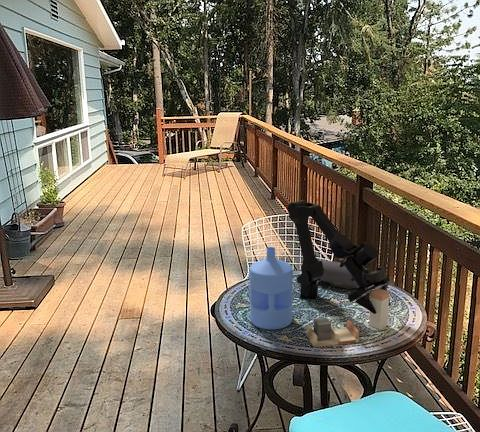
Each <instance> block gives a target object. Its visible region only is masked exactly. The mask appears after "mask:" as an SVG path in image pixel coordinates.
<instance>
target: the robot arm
mask: <svg viewBox="0 0 480 432" xmlns="http://www.w3.org/2000/svg"><path fill="white" fill-rule="evenodd" d="M286 209H287V210H286V211H287V213H288V216H289V219H290V221H292V222H293V223H294V225H295V229H296V233H297V237H298V238H297V239H298V242H299V245H300V246H299V247H300V250H301V251H300V252H301V255H302V259H303V260H302V263H301V267H300V269H301V270H300V271H301V273H300V275H298V276H297V277H296V282H297V284H299V285H300V286H299V287H300V289H299V293H300V295H299V299H303V300H305V299H306V300H314V301H315V300H316V299H317V297H318V295H319V284H318V282H319V281H321V280H320V279H321V277H322V276H323V274H324V272H323V271H324V268H323V263H322V261H319V260H320V259H318V258H317V256H316V253H315V248H314V244H313V240H312V235H311V230H310V226H309V220H310V217H311V219H312V220H313V221H314V223H315V224H316V226H317V227H318V228H319V230H320V232H322V234H323V236H324V237H326V239H327V241H328V244H329V245H328V246H329V249H330V250H331V252H332V254H333V256H334V257H335V258H337V259H341V260H340V262H339V263H340V268H341V267H344V266H345V267H346V269H347V270H348V272H349V273H350V275H351V276H352V279H351V281H352V282H353V281H355V283H356V284H357V286H358V287H359V288H355V289H354V290H352V291H351V292H349V293H348V294H347V300H348V301H349V303H354V304H357V305H359V306H361V307H363V308H364V309H366V310H368V311H369V313H370V312H372V313H373V314H376V313H377V312H376V310H375V308H374V306H373V304H372V303H371V298H370V292H371V291H374V290H376V289H378V288H380V289H383V290H386V291H388V286H389V285H390V282H391V279H390V278H389V276H388V275H387V270H386V268H385V267H384V266H378V267H376V269H375V270H374V271H372V270H371V269H370V268H367V269H365V268H366V267H365V266H367V265H369V264H370V263H371V262H373V261H375V259H377V258H378V256H379V252H378V249H377V248H376V247H374V246H373V245H371V244H369V243H368V242H367V241H364V242H362V243H361V244H360V245H357V244H354V242H352V240H350V239H349V237H347V236H345V235H343V234H342V233H341V232H339V230H338V229H337V227H336V226H335V224H333V222H332V221H331V219H330V218H329V217H328V216H327V214H326V213H325V212H324V210H323V207H322V206H321V205H320V204H315V203H313V202H308V201H306V200H304V199H301V200H295V201H293V202H290V203H289V204H288V205H287V208H286ZM370 270H371V271H370ZM390 306H391V301H390V300H389V307H390Z"/></svg>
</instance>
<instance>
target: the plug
mask: <svg viewBox="0 0 480 432" xmlns="http://www.w3.org/2000/svg"><path fill="white" fill-rule="evenodd" d="M390 293H391V292H390V291H388V290H387V291H386V290H383V289H380V288H378V289H376V290H374V289H373V290H371V291H370V301H371V303H372V304H373V306H374V308H375V310H376V312H377V313H376V314H373V313H372V312H370V311H369V323H368V325H369V326H370V327H373V328H375V329H377V330H379V331H380V330H382V329H384V328H386V327H388V320H389V307H390V306H389V301H390Z"/></svg>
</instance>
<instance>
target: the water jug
mask: <svg viewBox="0 0 480 432" xmlns="http://www.w3.org/2000/svg"><path fill="white" fill-rule="evenodd" d="M265 250H266V253H265V255H266V258H264V259H262V260H258V261H256V262H253V263H252V264H251V265H250V266H249V275H248V276H249V277H248V278H249V279H248V280H249V302H250V303H249V306H250V307H249V308H250V311H249V319H250V322H251V324H252V325H254V326H255V327H257V328H259V329H263V330H269V331H272V330H273V331H275V330H279V329H284V328H286V327H288V326H289V325H290V324H291V323H292V321H293V320H294V319H293V317H294V314H293V299H294V298H293V297H294V294H293V279H294V272H293V266H292V265H291V264H290V263H289V262H287V261H284V260H280V259H278V258H276V248H275V247H273V246H268V247H266V249H265Z"/></svg>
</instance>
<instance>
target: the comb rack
mask: <svg viewBox="0 0 480 432" xmlns="http://www.w3.org/2000/svg"><path fill="white" fill-rule="evenodd" d="M306 337H307V338H308V341H310V343H311V344H312V346H313V348H320V347H326V346H327V347H328V346H335V345H338V346H340V345H341V346H342V345H346V344H355V343H359V341H360V330H359V329H358V328H357V327H356V326H355V324H354V323H353V322H352V321H351V320H350V319H347V320H346V327H343V328H342V327H341V328H335V327H334V325H332V322H331V321H330V320H329V318H328V317H327V316H325V317H319V318H318V317H317V318H316V317H315V318H313V328H312V326H311V325H310V324H307V325H306Z"/></svg>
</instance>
